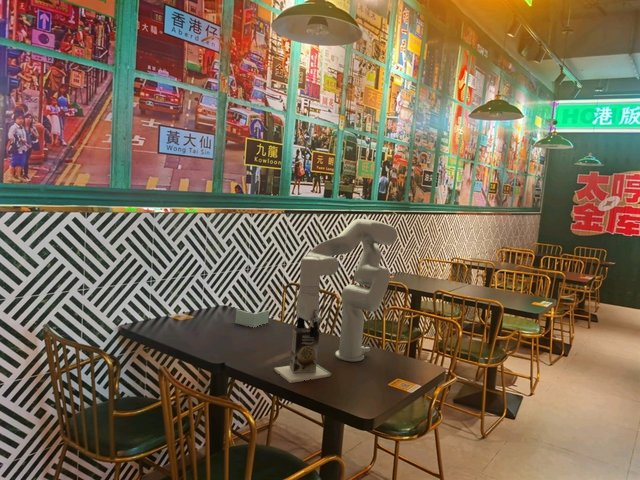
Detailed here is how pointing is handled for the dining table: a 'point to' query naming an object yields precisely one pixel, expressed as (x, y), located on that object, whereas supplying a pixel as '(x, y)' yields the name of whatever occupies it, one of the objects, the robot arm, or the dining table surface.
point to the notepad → (301, 374)
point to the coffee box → (303, 351)
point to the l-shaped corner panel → (251, 318)
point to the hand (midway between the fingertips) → (306, 332)
